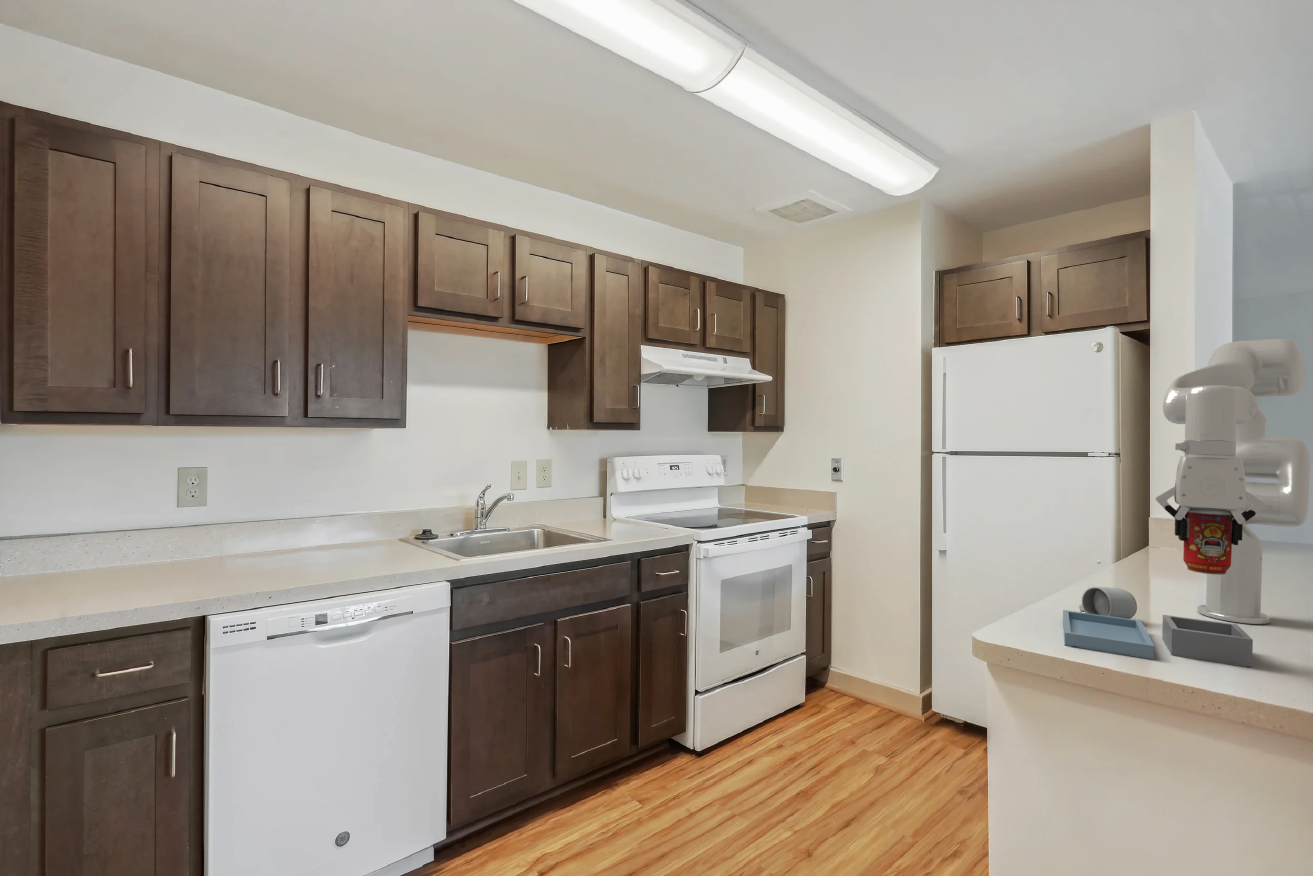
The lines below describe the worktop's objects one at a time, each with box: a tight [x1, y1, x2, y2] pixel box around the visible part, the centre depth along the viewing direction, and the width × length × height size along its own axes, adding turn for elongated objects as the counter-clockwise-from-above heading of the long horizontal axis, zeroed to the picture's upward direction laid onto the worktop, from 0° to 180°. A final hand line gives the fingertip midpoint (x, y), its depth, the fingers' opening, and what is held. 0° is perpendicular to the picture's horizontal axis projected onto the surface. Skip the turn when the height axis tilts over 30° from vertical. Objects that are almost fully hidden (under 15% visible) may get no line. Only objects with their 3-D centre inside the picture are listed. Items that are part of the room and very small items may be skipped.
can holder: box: [1161, 614, 1254, 668], centre depth 125 cm, size 12×12×5 cm
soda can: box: [1182, 508, 1233, 575], centre depth 125 cm, size 7×7×12 cm
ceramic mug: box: [1078, 586, 1138, 619], centre depth 147 cm, size 11×8×8 cm
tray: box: [1062, 609, 1155, 660], centre depth 132 cm, size 20×14×2 cm
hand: (1207, 541), depth 125 cm, fingers closed on soda can, 7 cm apart
